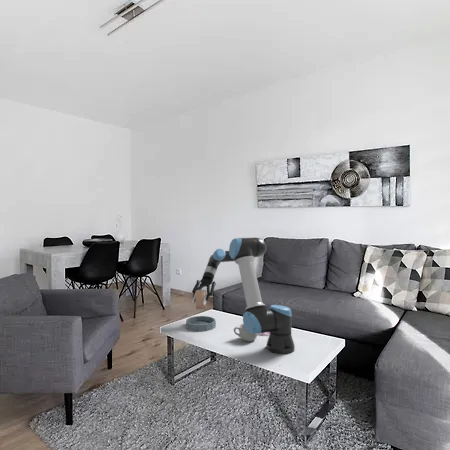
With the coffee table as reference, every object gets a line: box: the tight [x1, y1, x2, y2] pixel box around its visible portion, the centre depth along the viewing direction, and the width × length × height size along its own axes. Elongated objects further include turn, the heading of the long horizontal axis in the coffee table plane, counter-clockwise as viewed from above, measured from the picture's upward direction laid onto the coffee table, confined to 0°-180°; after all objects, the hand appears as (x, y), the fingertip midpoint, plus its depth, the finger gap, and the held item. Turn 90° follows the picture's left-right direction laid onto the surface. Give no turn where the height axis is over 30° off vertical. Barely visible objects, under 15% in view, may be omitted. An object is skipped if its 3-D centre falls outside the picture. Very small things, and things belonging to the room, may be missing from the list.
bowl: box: [185, 315, 217, 332], centre depth 224 cm, size 19×19×4 cm
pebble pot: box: [194, 289, 207, 310], centre depth 224 cm, size 7×7×12 cm
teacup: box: [233, 323, 258, 342], centre depth 200 cm, size 14×11×8 cm
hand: (198, 303), depth 221 cm, fingers closed on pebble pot, 7 cm apart
